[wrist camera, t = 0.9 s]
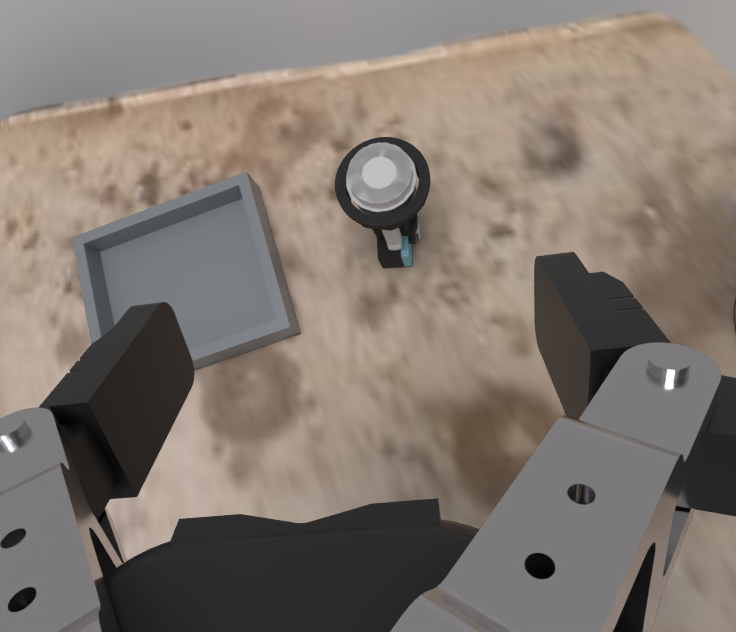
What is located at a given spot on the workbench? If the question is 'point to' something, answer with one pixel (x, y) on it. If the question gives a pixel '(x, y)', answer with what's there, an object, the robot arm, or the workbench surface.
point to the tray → (193, 270)
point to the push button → (385, 194)
